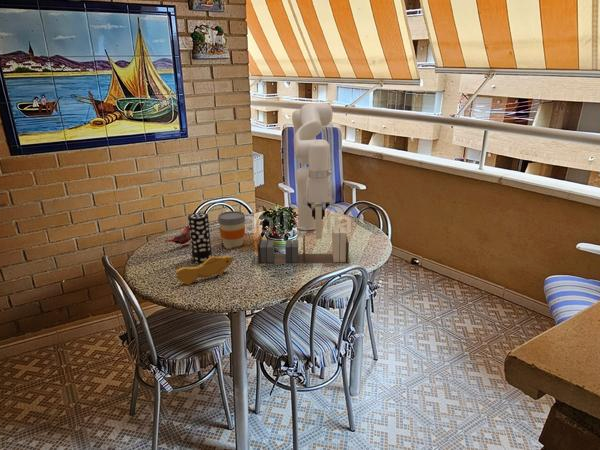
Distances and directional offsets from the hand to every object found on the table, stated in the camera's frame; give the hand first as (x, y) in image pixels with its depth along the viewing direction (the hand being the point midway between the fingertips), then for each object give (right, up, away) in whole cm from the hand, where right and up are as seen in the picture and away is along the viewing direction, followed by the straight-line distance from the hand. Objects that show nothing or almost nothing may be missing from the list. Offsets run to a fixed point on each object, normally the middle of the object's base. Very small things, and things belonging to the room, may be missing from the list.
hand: (318, 218), depth 168 cm
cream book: (0, -7, +2) cm, 8 cm away
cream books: (+9, -17, +6) cm, 20 cm away
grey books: (-16, -17, +7) cm, 25 cm away
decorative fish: (-45, -24, -7) cm, 51 cm away
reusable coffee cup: (-38, -13, +25) cm, 48 cm away
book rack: (-6, -18, +7) cm, 20 cm away
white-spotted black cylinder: (-50, -18, +11) cm, 54 cm away
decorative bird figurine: (-62, -14, +24) cm, 68 cm away
